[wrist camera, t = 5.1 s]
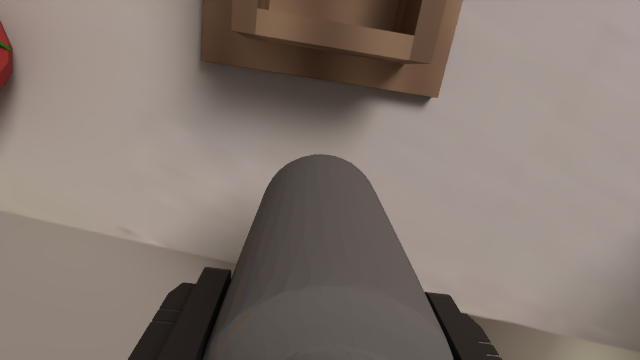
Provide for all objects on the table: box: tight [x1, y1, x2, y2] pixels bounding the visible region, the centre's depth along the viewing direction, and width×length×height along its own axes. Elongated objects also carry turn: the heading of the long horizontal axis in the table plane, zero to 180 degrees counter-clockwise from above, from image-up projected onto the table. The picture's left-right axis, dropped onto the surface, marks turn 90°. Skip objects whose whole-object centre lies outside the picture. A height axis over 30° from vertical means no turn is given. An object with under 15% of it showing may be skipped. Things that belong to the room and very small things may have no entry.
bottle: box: [203, 155, 453, 360], centre depth 10 cm, size 6×6×15 cm
